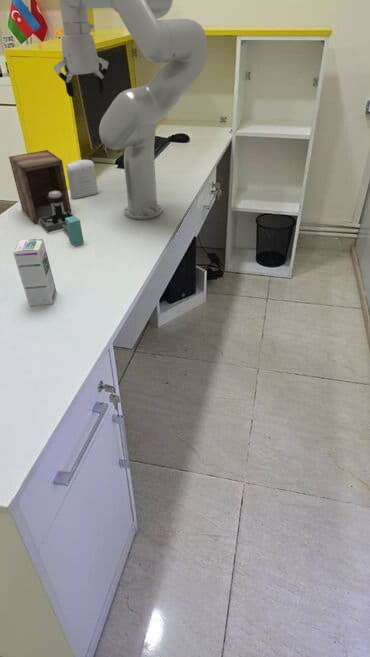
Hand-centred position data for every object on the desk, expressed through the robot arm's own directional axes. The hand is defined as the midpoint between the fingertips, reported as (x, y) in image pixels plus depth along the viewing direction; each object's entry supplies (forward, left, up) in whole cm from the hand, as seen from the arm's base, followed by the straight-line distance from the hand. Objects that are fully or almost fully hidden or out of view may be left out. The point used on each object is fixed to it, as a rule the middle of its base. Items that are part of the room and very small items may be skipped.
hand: (85, 94), depth 142 cm
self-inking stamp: (-14, +21, -34) cm, 42 cm away
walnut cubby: (-4, +21, -33) cm, 40 cm away
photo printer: (+5, +4, -34) cm, 34 cm away
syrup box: (-55, +39, -34) cm, 75 cm away
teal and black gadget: (-23, +21, -33) cm, 45 cm away
